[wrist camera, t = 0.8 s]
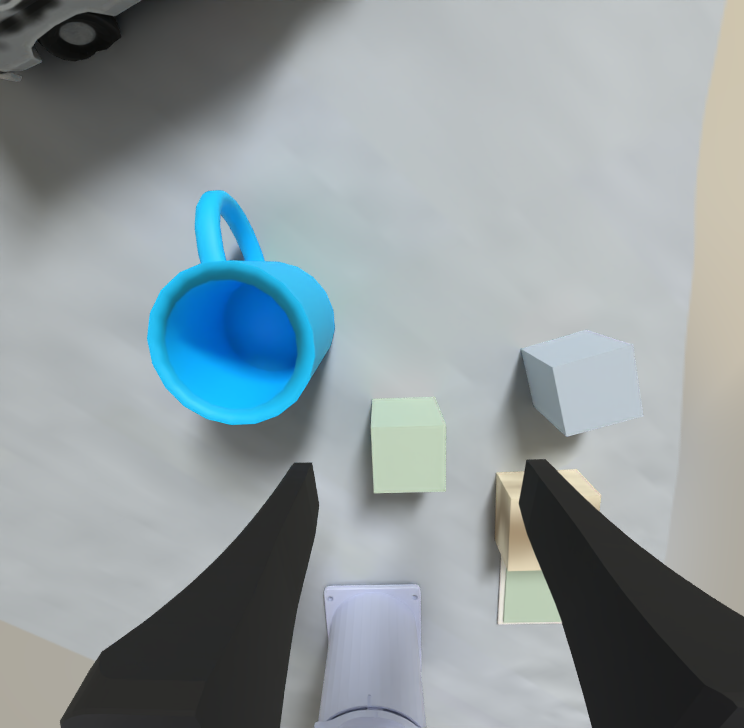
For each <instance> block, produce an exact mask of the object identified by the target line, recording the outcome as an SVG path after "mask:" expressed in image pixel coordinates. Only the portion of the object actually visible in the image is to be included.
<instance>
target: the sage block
mask: <svg viewBox="0 0 744 728" xmlns="http://www.w3.org/2000/svg"><path fill="white" fill-rule="evenodd" d="M371 442H372V463H373V484H374V493H404V492H444V491H446V424H445V421H444V419H443V416H442V414H441V411H440V409H439V407H438V404H437V402H436V399H435V397H417V398H387V399H372V415H371Z"/></svg>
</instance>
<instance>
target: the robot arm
mask: <svg viewBox="0 0 744 728" xmlns="http://www.w3.org/2000/svg"><path fill="white" fill-rule="evenodd" d="M519 507H520V511H521V515H522V519H523V522H524V526H525V529H526V533H527V536H528V538H529V541H530V543H531V546H532V548H533V551H534V553H535V556H536V558H537V561H538V563H539V566H540V568H541V570H542V573H543V575H544V578H545V580H546V583H547V585H548V587H549V590H550V592H551V595H552V597H553V600H554V602H555V605H556V607H557V610H558V613H559V616H560V618H561V621H562V625H563V628H564V631H565V634H566V638H567V641H568V644H569V647H570V651H571V654H572V657H573V661H574V664H575V668H576V671H577V675H578V678H579V681H580V685H581V688H582V692H583V695H584V699H585V703H586V707H587V710H588V714H589V718H590V722H591V725H592V728H744V617H743V616H742V615H740V614H738V613H737V612H735V611H733V610H732V609H730V608H728V607H727V606H725V605H724V604H722V603H721V602H719V601H717V600H716V599H714V598H712V597H711V596H709V595H708V594H706V593H705V592H703V591H702V590H700V589H699V588H697V587H696V586H695V585H693V584H692V583H690V582H689V581H687V580H685V579H684V578H683V577H681V576H680V575H678V574H677V573H675V572H674V571H673V570H671V569H670V568H668V567H667V566H666V565H664V564H663V563H662V562H660V561H659V560H658V559H656V558H655V557H654V556H652V555H651V554H650V553H648V552H647V551H646V550H644V549H643V548H642V547H641V546H639V545H638V544H637V543H636V542H634V541H633V540H632V539H631V538H629V537H628V536H627V535H626V534H625V533H623V532H622V531H621V530H620V529H619V528H617V527H616V526H615V525H614V524H613V523H612V522H610V521H609V520H608V519H607V518H606V517H605V516H604V515H603V514H601V513H600V512H599V511H598V510H597V509H596V508H595V507H594V506H593V505H592V504H591V503H590V502H589V501H587V500H586V499H585V498H584V497H583V496H582V495H581V494H580V493H579V492H578V491H577V490H576V489H575V488H574V487H573V486H572V485H571V484H570V483H569V482H568V481H567V480H566V479H565V478H564V477H563V476H562V475H561V474H560V473H559V472H558V471H557V470H556V469H555V468H554V467H553V466H552V465H551V464H550V463H549V462H548V461H547V460H546V459H538V460H526V466H525V471H524V476H523V482H522V487H521V493H520V498H519ZM318 510H319V501H318V495H317V489H316V483H315V477H314V471H313V465H312V463H294V464H293V465H292V466H291V467H290V469H289V470H288V472H287V473H286V475H285V476H284V478H283V479H282V481H281V482H280V483H279V485H278V486H277V488H276V489H275V490H274V492H273V493H272V495H271V496H270V497H269V499H268V500H267V501H266V502H265V504H264V505H263V506H262V508H261V509H260V510H259V512H258V513H257V514H256V515H255V517H254V518H253V519H252V520H251V521H250V523H249V524H248V525H247V526H246V527H245V528H244V530H243V531H242V532H241V533H240V534H239V535H238V537H237V538H236V539H235V540H234V541H233V542H232V543H231V544H230V545H229V546H228V548H227V549H226V550H225V551H224V552H223V553H222V554H221V555H220V556H219V557H218V558H217V559H216V560H215V561H214V562H213V563H212V564H211V565H210V566H209V567H208V568H207V569H206V570H204V571H203V572H202V573H201V574H200V575H199V576H198V577H197V578H196V579H195V580H194V581H193V582H192V583H190V584H189V585H188V586H187V587H186V588H185V589H184V590H183V591H181V592H180V593H179V594H178V595H176V596H175V597H174V598H173V599H172V600H170V601H169V602H168V603H167V604H166V605H164V606H163V607H162V608H161V609H159V610H158V611H157V612H156V613H155V614H153V615H152V616H151V617H149V618H148V619H147V620H146V621H144V622H143V623H142V624H140V625H139V626H137V627H136V628H135V629H133V630H132V631H130V632H129V633H128V634H126V635H125V636H123V637H122V638H121V639H119V640H118V641H117V642H115V643H114V644H112V645H111V646H109V647H108V648H107V649H105V650H104V651H102V652H101V654H100V655H99V657H98V659H97V660H96V661H95V663H94V664H93V666H92V668H91V669H90V670H89V672H88V674H87V676H86V677H85V679H84V681H83V682H82V684H81V686H80V688H79V690H78V691H77V693H76V695H75V696H74V698H73V700H72V702H71V703H70V705H69V707H68V708H67V710H66V712H65V713H64V715H63V717H62V719H61V720H60V725H61V728H280V722H281V714H282V707H283V699H284V691H285V684H286V677H287V670H288V663H289V656H290V649H291V643H292V636H293V630H294V624H295V617H296V612H297V608H298V603H299V599H300V595H301V591H302V587H303V583H304V578H305V574H306V570H307V566H308V562H309V558H310V554H311V550H312V546H313V542H314V538H315V533H316V526H317V518H318ZM413 595H416V596H413ZM329 596H331V597H329ZM324 600H325V611H326V622H327V632H328V643H329V645H328V653H327V660H326V668H325V675H324V682H323V690H322V697H321V704H320V712H319V719H318V722H315V725H314V728H427V727H426V717H425V707H424V697H423V687H422V677H421V671H422V663H421V591H420V587H419V586H418V585H416V584H396V585H341V586H327V587H326V588H325V590H324Z"/></svg>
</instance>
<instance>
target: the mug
mask: <svg viewBox="0 0 744 728" xmlns="http://www.w3.org/2000/svg"><path fill="white" fill-rule="evenodd" d="M220 214H221V216H222V217H223V218H224V219H225V221H226V222H227V224H228V225H229V227H230V229H231V231H232V233H233V234H234V236H235V238H236V240H237V243H238V245H239V247H240V250H241V252H242V254H243V257H244V259H245V261H237V260H229V261H226V257H225V253H224V249H223V242H222V235H221V229H220ZM195 234H196V241H197V248H198V254H199V258H200V262H201V264H198V265H196V266H194V267H191V268H189V269H187V270H184V271H182V272H180V273H179V274H178V275H176V276H175V277H174V278H173V279H172V280H171V281H170V282H169V283H168V284H167V285H166V286H165V287H164V288H163V289H162V290H161V291H160V293H159V295H158V298H157V300H156V302H155V304H154V306H153V308H152V310H151V312H150V317H149V326H148V335H147V340H148V345H149V350H150V355H151V359H152V364H153V366H154V368H155V370H156V371H157V373H158V375H159V377H160V379H161V380H162V382H163V384H164V386H165V388H166V389H167V390H168V391H169V392H170V393H171V394H172V395H173V396H174V397H175V398H176V399H177V400H178V401H179V402H180V403H181V404H182V405H183V406H185V407H186V408H188V409H190V410H192V411H193V412H195V413H197V414H199V415H200V416H202V417H204V418H206V419H209V420H213V421H217V422H221V423H225V424H229V425H241V424H257V423H259V422H262V421H265V420H268V419H270V418H273V417H276V416H278V415H280V414H281V413H282V412H283V411H285V410H286V409H287V408H288V407H290V406H291V405H292V404H293V403H295V402H296V401H297V400H298V398H299V396H300V395H301V393H302V392H303V390H304V389H305V387H306V385H307V384H308V382H309V381H310V379H311V377H312V376H313V374H314V372H315V371H316V369H317V368H318V366H319V364H320V363H321V361H322V359H323V358H324V356H325V354H326V353H327V351H328V350H329V348H330V346H331V343H332V338H333V334H334V330H335V324H334V312H333V308H332V306H331V303H330V301H329V298H328V296H327V293H326V292H325V291H324V289H323V288H322V287H321V286H320V285H319V283H318V282H317V281H316V280H315V279H314V277H312V276H311V275H309V274H307V273H306V272H304V271H303V270H301V269H300V268H298V267H296V266H292V265H289V264H285V263H281V262H269V261H265V260H264V257H263V254H262V251H261V248H260V246H259V243H258V241H257V238H256V236H255V233H254V231H253V229H252V227H251V225H250V223H249V221H248V219H247V217H246V215H245V213H244V212H243V210H242V209H241V207H240V206H239V204H238V203H237V201H235V200H234V199H233V198H232V197H231V196H230V195H229V194H228V193H226V192H224V191H221V190H216V191H208V192H205V193H204V194H203V195H202V196H201V198H200V200H199V202H198V204H197V206H196V213H195Z"/></svg>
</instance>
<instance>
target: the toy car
mask: <svg viewBox="0 0 744 728" xmlns="http://www.w3.org/2000/svg"><path fill="white" fill-rule="evenodd" d="M140 1H141V0H0V79H5V80H10V81H16V82H19V81H21V76H20V75H17V74H15V73H12V72H19V71H23V70H26V69H28V68H31V67H33V66H35V65H37V64H39V63H41V62H42V60H41V58H40V57H39V55H38V53H37V51H36V49H35V48H34V46H33V45H34V43H35V42H36V40H37V41H38V42H39V43H40V44H41V45H42V46H43V47H45V48H46V49H47V50H48V51H49V52H50V53H51V54H53V55H55V56H57V57H60V58H62V59H64V60H70V61H77V60H84V59H87V58H89V57H91V56H92V55H94V54H95V53H96V51H101V50H106V49H108V48H109V47H110V46H111V45H112V44H113V43H114V42H115V41H117V40H118V39H119V38H121V34H120V30H119V27H118V24H117V22H116V20H115V18H114V17H113V16H116V15H118V14H120V13H121V12H123V11H125V10H126V9H128V8H130V7H131V6H133V5H135V4H136V3H138V2H140ZM7 72H9V73H7Z"/></svg>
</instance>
